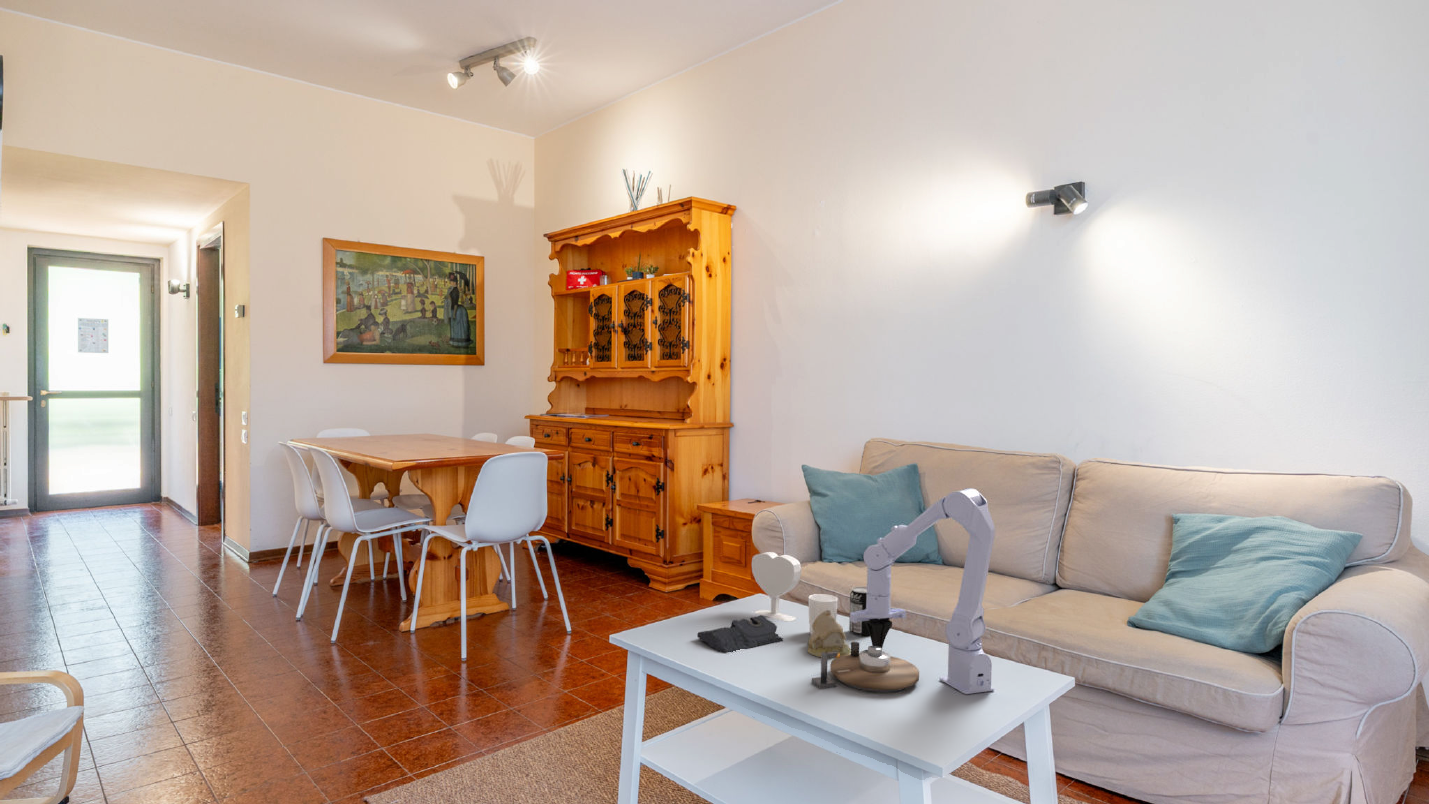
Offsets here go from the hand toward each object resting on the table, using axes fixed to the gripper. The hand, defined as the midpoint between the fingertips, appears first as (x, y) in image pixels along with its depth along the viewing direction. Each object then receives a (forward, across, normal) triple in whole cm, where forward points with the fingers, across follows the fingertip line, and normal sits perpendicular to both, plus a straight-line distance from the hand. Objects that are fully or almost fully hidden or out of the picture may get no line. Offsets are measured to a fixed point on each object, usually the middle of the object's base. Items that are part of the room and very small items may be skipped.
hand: (877, 649), depth 189 cm
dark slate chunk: (+4, +25, -27) cm, 37 cm away
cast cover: (+1, +6, +9) cm, 11 cm away
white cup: (+4, +2, -24) cm, 25 cm away
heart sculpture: (+4, +7, -44) cm, 45 cm away
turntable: (+2, +6, +9) cm, 11 cm away
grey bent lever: (+3, +19, +9) cm, 21 cm away
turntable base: (+3, +6, +9) cm, 11 cm away
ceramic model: (+4, +7, -13) cm, 15 cm away
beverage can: (+4, -9, -22) cm, 24 cm away
